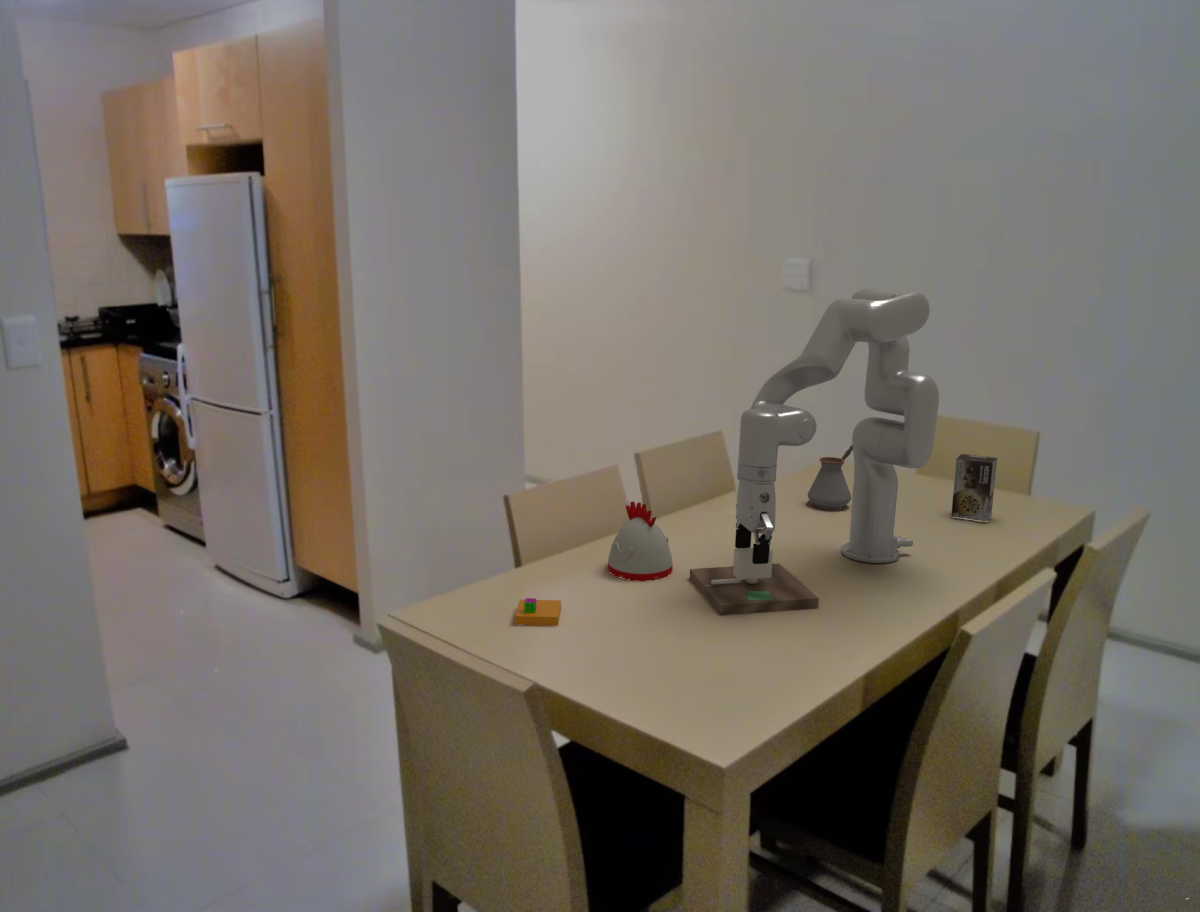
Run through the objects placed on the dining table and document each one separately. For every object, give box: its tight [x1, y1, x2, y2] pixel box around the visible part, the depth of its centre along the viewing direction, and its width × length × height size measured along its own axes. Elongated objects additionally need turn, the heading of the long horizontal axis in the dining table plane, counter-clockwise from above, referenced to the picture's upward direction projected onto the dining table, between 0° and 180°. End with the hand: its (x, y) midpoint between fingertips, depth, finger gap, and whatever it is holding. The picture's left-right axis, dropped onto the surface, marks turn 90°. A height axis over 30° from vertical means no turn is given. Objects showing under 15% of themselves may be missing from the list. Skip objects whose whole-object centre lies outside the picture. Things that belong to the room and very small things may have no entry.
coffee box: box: [950, 453, 998, 521], centre depth 236 cm, size 9×6×16 cm
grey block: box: [711, 547, 774, 584], centre depth 184 cm, size 12×3×7 cm, turn 102°
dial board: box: [689, 563, 820, 616], centre depth 185 cm, size 20×20×2 cm
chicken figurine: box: [607, 500, 673, 582], centre depth 196 cm, size 14×14×15 cm
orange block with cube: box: [514, 597, 562, 626], centre depth 172 cm, size 8×8×4 cm
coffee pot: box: [807, 445, 853, 511], centre depth 249 cm, size 21×12×15 cm, turn 141°
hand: (751, 555), depth 183 cm, fingers open, 9 cm apart
